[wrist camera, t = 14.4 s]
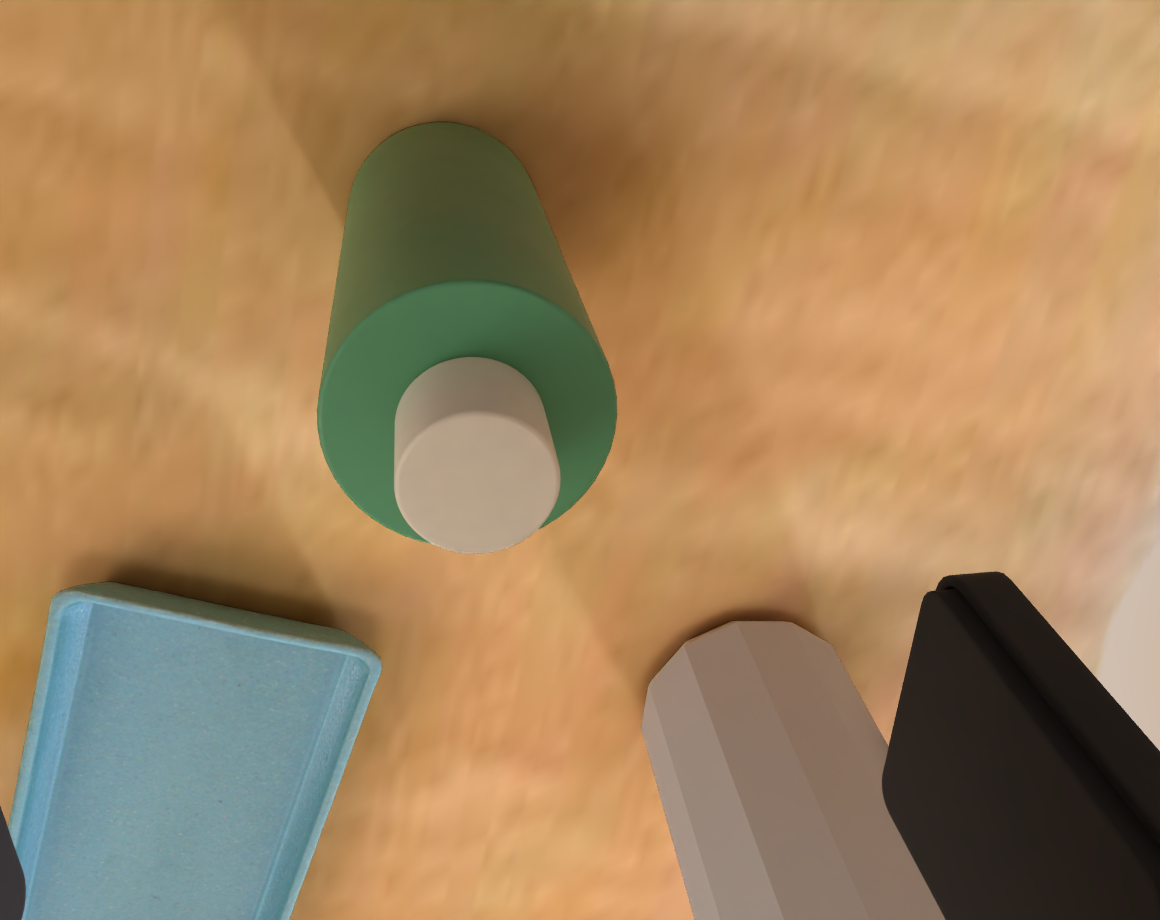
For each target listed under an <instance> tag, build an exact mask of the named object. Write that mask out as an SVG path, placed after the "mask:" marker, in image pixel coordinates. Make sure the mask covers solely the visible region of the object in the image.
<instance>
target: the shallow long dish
mask: <svg viewBox="0 0 1160 920" xmlns="http://www.w3.org/2000/svg"><path fill="white" fill-rule="evenodd" d="M381 671H382V662H381V659H380V657H379V656H378V655H377V654H376V653H375V652H374V651H373V650H372V649H370V648H369V647H368V646H367V645H365V644H364V643H363V642H361V641H360V640H358V639H356V638H355V637H353V636H351V635H350V634H348V633H346V632H345V631H343V630H340V629H335V628H330V627H325V626H320V625H315V624H310V623H305V622H300V621H295V620H290V619H286V618H281V617H276V616H271V615H266V614H261V613H256V612H251V611H247V610H242V609H237V608H233V607H228V606H224V605H219V604H214V603H210V602H205V601H200V600H196V599H191V598H187V597H182V596H177V595H173V594H168V593H163V592H159V591H154V590H149V589H144V588H139V587H134V586H130V585H125V584H120V583H115V582H100V583H92V584H84V585H79V586H75V587H71V588H68V589H64V590H61V591H60V592H58V593H57V594H56V595H54V596H53V597H52V600H51V604H50V608H49V613H48V621H47V627H46V633H45V638H44V644H43V650H42V655H41V661H40V666H39V672H38V677H37V683H36V688H35V693H34V698H33V703H32V708H31V713H30V718H29V723H28V728H27V733H26V738H25V743H24V748H23V753H22V759H21V764H20V769H19V774H18V780H17V785H16V790H15V795H14V799H13V804H12V810H11V815H10V820H9V825H8V830H9V833H10V835H11V838H12V841H13V844H14V847H15V850H16V852H17V855H18V858H19V861H20V864H21V867H22V869H23V872H24V877H25V884H26V900H25V907H24V912H23V916H22V919H21V920H289V919H290V916H291V913H292V911H293V908H294V905H295V903H296V900H297V897H298V894H299V891H300V888H301V886H302V884H303V881H304V878H305V875H306V873H307V870H308V868H309V864H310V862H311V859H312V857H313V854H314V851H315V849H316V846H317V843H318V840H319V837H320V834H321V831H322V829H323V826H324V823H325V821H326V818H327V816H328V813H329V811H330V808H331V805H332V803H333V800H334V797H335V794H336V791H337V789H338V786H339V784H340V781H341V778H342V775H343V772H344V770H345V767H346V764H347V762H348V759H349V757H350V754H351V750H352V747H353V744H354V741H355V739H356V736H357V734H358V731H359V729H360V726H361V723H362V720H363V718H364V715H365V712H366V709H367V707H368V704H369V701H370V698H371V696H372V693H373V691H374V688H375V686H376V683H377V681H378V678H379V676H380V673H381Z"/></svg>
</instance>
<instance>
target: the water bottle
mask: <svg viewBox="0 0 1160 920" xmlns="http://www.w3.org/2000/svg"><path fill="white" fill-rule="evenodd" d="M641 730H642V733H643V737H644V741H645V744H646V748H647V751H648V755H649V758H650V762H651V766H652V769H653V773H654V776H655V780H656V783H657V787H658V791H659V794H660V798H661V801H662V805H663V809H664V812H665V816H666V819H667V823H668V826H669V830H670V834H671V837H672V841H673V844H674V848H675V851H676V855H677V859H678V862H679V866H680V869H681V873H682V876H683V880H684V884H685V887H686V891H687V894H688V898H689V902H690V905H691V909H692V912H693V916H694V919H695V920H945V918H944V916H943V914H942V912H941V910H940V908H939V906H938V905H937V903H936V901H935V899H934V897H933V895H932V893H931V891H930V890H929V888H928V886H927V884H926V882H925V880H924V878H923V876H922V874H921V873H920V871H919V869H918V867H917V865H916V863H915V861H914V859H913V858H912V856H911V854H910V852H909V850H908V848H907V846H906V844H905V843H904V841H903V839H902V837H901V835H900V833H899V831H898V829H897V827H896V826H895V824H894V822H893V820H892V818H891V816H890V814H889V812H888V810H887V808H886V805H885V801H884V798H883V792H882V774H883V769H884V765H885V761H886V756H887V752H888V745H887V743H886V741H885V739H884V738H883V736H882V734H881V732H880V730H879V729H878V727H877V725H876V723H875V721H874V720H873V718H872V716H871V714H870V712H869V711H868V709H867V707H866V705H865V703H864V702H863V700H862V698H861V696H860V694H859V693H858V691H857V689H856V687H855V685H854V684H853V682H852V680H851V678H850V676H849V675H848V673H847V671H846V669H845V667H844V666H843V664H842V662H841V660H840V658H839V657H838V655H837V653H836V651H835V649H834V648H833V646H832V645H831V644H830V643H828V642H826V641H824V640H823V639H821V638H819V637H817V636H815V635H814V634H812V633H810V632H808V631H807V630H805V629H803V628H801V627H799V626H798V625H796V624H794V623H792V622H786V621H731V622H729V623H727V624H724V625H722V626H720V627H718V628H715V629H713V630H711V631H709V632H706V633H704V634H702V635H699V636H697V637H695V638H693V639H690V640H688V641H686V642H685V643H684V644H683V645H682V646H681V647H680V648H679V650H678V651H677V652H676V653H675V654H674V655H673V656H672V657H671V659H670V660H669V661H668V662H667V663H666V664H665V665H664V666H663V667H662V669H661V670H660V671H659V672H658V673H657V674H656V675H655V676H654V678H653V679H652V680H651V682H650V683H649V685H648V691H647V696H646V702H645V707H644V712H643V718H642V723H641Z"/></svg>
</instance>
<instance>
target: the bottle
mask: <svg viewBox="0 0 1160 920" xmlns="http://www.w3.org/2000/svg"><path fill="white" fill-rule="evenodd" d="M616 420H617V396H616V391H615V385H614V380H613V377H612V374H611V371H610V368H609V365H608V362H607V360H606V357H605V355H604V352H603V350H602V348H601V345H600V343H599V341H598V338H597V336H596V333H595V331H594V329H593V326H592V324H591V321H590V319H589V317H588V314H587V312H586V310H585V307H584V305H583V302H582V300H581V298H580V295H579V293H578V290H577V288H576V286H575V283H574V281H573V279H572V276H571V274H570V271H569V269H568V267H567V264H566V262H565V259H564V257H563V255H562V252H561V250H560V248H559V245H558V243H557V240H556V238H555V236H554V233H553V231H552V228H551V226H550V224H549V221H548V219H547V217H546V214H545V212H544V209H543V207H542V205H541V202H540V200H539V197H538V195H537V193H536V190H535V188H534V186H533V183H532V181H531V179H530V177H529V175H528V173H527V171H526V169H525V168H524V166H523V165H522V163H521V162H520V160H519V159H518V158H517V157H516V156H515V155H514V153H513V152H512V151H511V150H510V149H509V148H507V147H506V146H505V145H504V144H503V143H502V142H500V141H499V140H497V139H496V138H494V137H493V136H491V135H490V134H488V133H485V132H483V131H481V130H479V129H477V128H474V127H471V126H468V125H463V124H458V123H451V122H433V123H425V124H420V125H415V126H412V127H410V128H407V129H404V130H402V131H400V132H398V133H396V134H394V135H392V136H391V137H389V138H388V139H386V140H385V141H384V142H382V143H381V144H380V145H379V146H378V147H377V148H376V149H375V150H373V151H372V152H371V154H370V155H369V156H368V157H367V159H366V160H365V161H364V163H363V164H362V166H361V168H360V169H359V171H358V173H357V175H356V177H355V180H354V182H353V185H352V188H351V192H350V196H349V202H348V209H347V215H346V222H345V228H344V235H343V241H342V248H341V254H340V260H339V267H338V273H337V280H336V286H335V293H334V299H333V306H332V312H331V319H330V325H329V332H328V338H327V345H326V351H325V358H324V364H323V371H322V377H321V384H320V390H319V398H318V407H317V424H318V433H319V439H320V444H321V448H322V451H323V454H324V456H325V459H326V462H327V464H328V466H329V468H330V470H331V472H332V474H333V476H334V478H335V479H336V481H337V482H338V484H339V485H340V487H341V488H342V489H343V491H344V492H345V493H346V494H347V496H348V497H349V498H350V499H351V500H352V501H353V502H354V503H355V504H356V505H357V506H358V507H359V508H360V509H361V510H363V511H364V512H365V513H366V514H367V515H369V516H370V517H371V518H372V519H374V520H376V521H377V522H379V523H380V524H382V525H383V526H385V527H387V528H389V529H391V530H393V531H395V532H397V533H399V534H401V535H403V536H406V537H409V538H412V539H415V540H418V541H422V542H426V543H431V544H434V545H436V546H438V547H440V548H443V549H446V550H449V551H453V552H457V553H464V554H485V553H492V552H496V551H501V550H504V549H506V548H509V547H512V546H514V545H516V544H518V543H520V542H522V541H523V540H525V539H526V538H528V537H529V536H531V535H532V534H533V533H534V532H535V531H537V530H538V529H540V528H542V527H544V526H546V525H547V524H549V523H550V522H552V521H554V520H555V519H557V518H558V517H560V516H561V515H562V514H563V513H565V512H566V511H567V510H568V509H570V508H571V507H572V506H573V505H574V504H575V503H576V502H577V501H578V500H579V499H580V498H581V497H582V496H583V495H584V494H585V493H586V491H587V490H588V489H589V487H590V486H591V485H592V483H593V482H594V481H595V479H596V478H597V476H598V474H599V472H600V471H601V469H602V467H603V465H604V464H605V461H606V459H607V456H608V454H609V451H610V449H611V446H612V442H613V438H614V434H615V429H616Z"/></svg>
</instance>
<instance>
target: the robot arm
mask: <svg viewBox="0 0 1160 920" xmlns="http://www.w3.org/2000/svg"><path fill="white" fill-rule="evenodd" d="M882 792H883V798H884V801H885V805H886V808H887V810H888V812H889V814H890V816H891V818H892V820H893V822H894V824H895V826H896V827H897V829H898V831H899V833H900V835H901V837H902V839H903V841H904V843H905V844H906V846H907V848H908V850H909V852H910V854H911V856H912V858H913V859H914V861H915V863H916V865H917V867H918V869H919V871H920V873H921V874H922V876H923V878H924V880H925V882H926V884H927V886H928V888H929V890H930V891H931V893H932V895H933V897H934V899H935V901H936V903H937V905H938V906H939V908H940V910H941V912H942V914H943V916H944V918H945V920H1160V751H1159V750H1158V749H1157V748H1156V747H1155V745H1154V744H1153V743H1152V742H1151V741H1150V740H1149V739H1148V737H1147V736H1146V735H1145V734H1144V733H1143V732H1142V730H1141V729H1140V728H1139V727H1138V726H1137V725H1136V723H1135V722H1134V721H1133V720H1132V719H1131V718H1130V717H1129V715H1128V714H1127V713H1126V712H1125V711H1124V710H1123V708H1122V707H1121V706H1120V705H1119V704H1118V703H1117V702H1116V700H1115V699H1114V698H1113V697H1112V696H1111V695H1110V693H1109V692H1108V691H1107V690H1106V689H1105V688H1104V687H1103V685H1102V684H1101V683H1100V682H1099V681H1098V680H1097V678H1096V677H1095V676H1094V675H1093V674H1092V673H1091V672H1090V670H1089V669H1088V668H1087V667H1086V666H1085V665H1084V664H1083V662H1082V661H1081V660H1080V659H1079V658H1078V657H1077V655H1076V654H1075V653H1074V652H1073V651H1072V650H1071V649H1070V647H1069V646H1068V645H1067V644H1066V643H1065V642H1064V640H1063V639H1062V638H1061V637H1060V636H1059V635H1058V634H1057V632H1056V631H1055V630H1054V629H1053V628H1052V627H1051V625H1050V624H1049V623H1048V622H1047V621H1046V620H1045V619H1044V617H1043V616H1042V615H1041V614H1040V613H1039V612H1038V611H1037V609H1036V608H1035V607H1034V606H1033V605H1032V604H1031V602H1030V601H1029V600H1028V599H1027V598H1026V597H1025V596H1024V594H1023V593H1022V592H1021V591H1020V590H1019V589H1018V587H1017V586H1016V585H1015V584H1014V583H1013V582H1012V581H1011V579H1009V578H1008V577H1007V576H1006V575H1005V574H1004V573H1000V572H984V573H973V574H961V575H949V576H946V577H943V578H942V580H941V581H940V582H939V583H938V586H937V588H936V591H930V592H927V594H926V595H925V596H924V598H923V601H922V604H921V608H920V612H919V617H918V621H917V625H916V630H915V634H914V638H913V643H912V647H911V652H910V656H909V660H908V665H907V669H906V673H905V678H904V682H903V686H902V691H901V695H900V700H899V704H898V708H897V713H896V717H895V721H894V726H893V730H892V734H891V739H890V743H889V747H888V752H887V756H886V761H885V765H884V769H883V774H882ZM25 900H26V884H25V877H24V872H23V869H22V867H21V864H20V861H19V858H18V855H17V852H16V850H15V847H14V844H13V841H12V838H11V835H10V833H9V830H8V827H7V824H6V821H5V818H4V815H3V813H2V810H1V807H0V920H21V919H22V916H23V912H24V907H25Z"/></svg>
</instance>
